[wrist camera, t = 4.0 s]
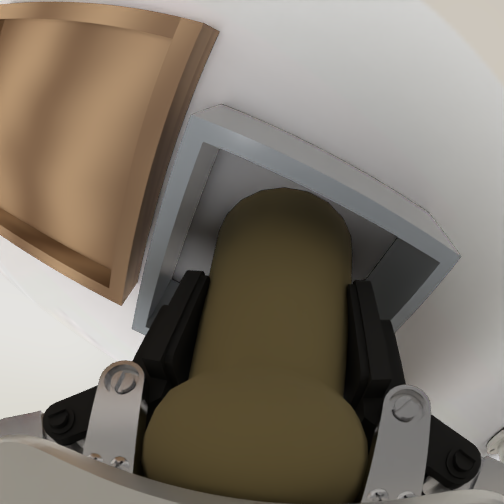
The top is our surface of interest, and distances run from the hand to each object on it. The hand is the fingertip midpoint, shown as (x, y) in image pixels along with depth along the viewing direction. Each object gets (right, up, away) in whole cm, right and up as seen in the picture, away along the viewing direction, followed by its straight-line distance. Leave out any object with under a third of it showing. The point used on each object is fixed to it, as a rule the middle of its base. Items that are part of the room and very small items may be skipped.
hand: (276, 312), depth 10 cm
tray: (-10, +8, +2) cm, 13 cm away
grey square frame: (+1, +2, +3) cm, 4 cm away
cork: (+1, +2, +3) cm, 4 cm away
